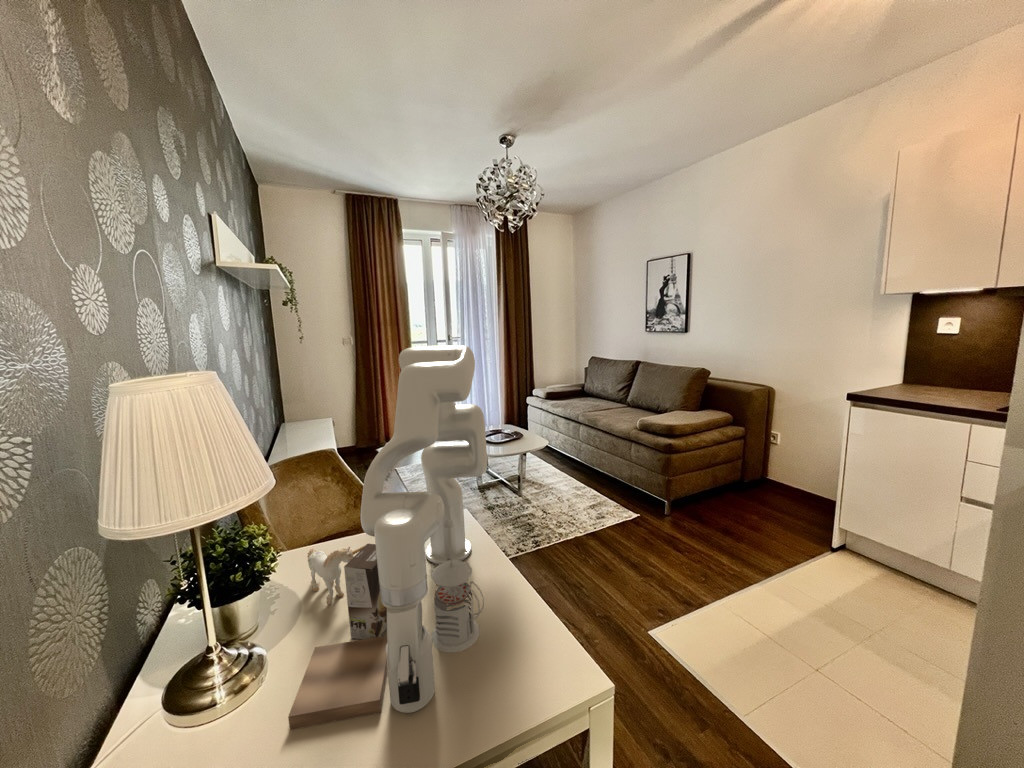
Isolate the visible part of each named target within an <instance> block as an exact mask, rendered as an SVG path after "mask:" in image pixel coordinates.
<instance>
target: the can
mask: <svg viewBox="0 0 1024 768" xmlns="http://www.w3.org/2000/svg"><path fill="white" fill-rule="evenodd" d="M409 648H410V646H409ZM433 659H434V658H433V645H432V634H430V631H428V630H427V628H426V625H424V624H422V640H421V651H420V661H419V662H418V664H417V665H416V673H417V677H419V689H420V700H419V701H418V702H413V703H407V704H402V705H401V704H400V703H399V693H398V665H397V667H396V668H395V669H390V668H389V664H388V643H387V645H386V660H387V678H388V679H387V680H388V691H389V700H390V704H391V706H392V707H393V709H395V710H396V711H398V712H400V713H409V714H410V713H414V712H417V711H419V710H421V709H422V708H424V707H425V706H426V705H427V704H428V703H429V702H430V701H431V699H432V698H433V697H434V693H435V689H436V687H435V673H434V660H433ZM411 660H413V659H412V657H411V656H410V655H409V661H411ZM409 674H410V675H413V671H412V665H411V666H409Z"/></svg>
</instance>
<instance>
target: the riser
mask: <svg viewBox="0 0 1024 768" xmlns="http://www.w3.org/2000/svg"><path fill="white" fill-rule="evenodd" d="M386 645H387V635H384V636H383V635H381V637H376V638H369V639H357V640H352V641H345V642H338V643H331V644H327V645H320V646H315V647H314V649H313V651H312V654H311V655H310V659H309V662H308V664H307V666H306V669H305V672H304V675H303V677H302V680H301V683H300V685H299V688H298V691H297V692H296V696H295V698H294V700H293V702H292V703H293V704H292V706H291V708H290V711H289V713H288V716H287V718H288V725H289V730H290V731H291V730H298V729H303V728H308V727H313V726H317V725H322V724H323V725H324V724H330V723H334V722H339V721H340V722H341V721H345V720H351V719H354V718H355V719H356V718H361V717H366V716H371V715H376V714H380V713H382V709H383V701H384V697H385V689H386V688H385V687H386V683H387V678H388V671H387V660H386Z"/></svg>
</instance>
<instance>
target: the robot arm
mask: <svg viewBox="0 0 1024 768" xmlns="http://www.w3.org/2000/svg"><path fill="white" fill-rule="evenodd" d="M398 363H399V368H400V372H399V376H398V383H397V394H396V395H397V396H396V406H395V418H394V427H393V428H394V429H393V435H392V437H391V438H390V440H389V441H387V443H386V444H385V445H384V446H383V447H382V448H381V449H380V450H379V451H378V453H377V454H376V455H375V457H374V459H373V460H372V461H371V463H370V465H369V467H368V469H367V471H366V474H365V477H364V480H363V487H362V496H361V504H360V505H361V506H360V523H361V524H360V526H361V529H362V530H363V532H364V533H365V534H366V535H368V536H370V537H374V541H375V543H374V544H376V554H377V565H378V575H379V585H380V596H381V602H382V604H383V605H384V606H385V607H387V628H386V636H387V643H388V664H389V668H390V669H395V668H396V667H397V665H398V693H399V703H400V704H401V705H402V704H407V703H413V702H418V701H419V700H420V689H419V677H417V673H416V665H417V664H418V662H419V661H420V651H421V640H422V625H423V604H422V601H423V600H424V599H425V598H426V596H427V595H428V591H429V590H428V589H429V588H428V574H427V562H426V559H427V560H428V561H429V562H431V563H433V564H435V565H440V564H442V563H444V562H447V561H451V560H450V544H449V528H445V527H444V523H445V521H446V520H452V521H453V523H454V526H453V527H452V528H450V543H451V559H452V561H456V560H458V561H462V562H463V560H465V559H466V558H468V556H469V555H471V552H472V543H471V542H470V541H469V540H468V539H466V531H465V529H466V528H465V513H464V510H465V509H464V495H463V489H462V487H461V485H460V483H459V482H458V481H457V478H458V479H459V478H475V477H476V478H477V477H481V476H483V475H484V474H485V473H486V471H487V467H488V451H487V450H488V449H487V436H486V422H485V417H484V412H483V410H482V408H481V407H480V406H479V405H478V404H473V403H463V404H457V403H458V402H459V403H460V402H464V401H466V400H467V399H468V397H469V395H470V393H471V389H472V385H473V378H474V375H475V370H476V369H475V368H476V359H475V356H474V352H473V351H472V349H471V348H470V347H469V346H467V345H426V346H424V345H423V346H422V345H421V346H412V347H407V348H405V349H403V350H401V351H400V353H399V356H398ZM455 402H457V403H455ZM419 451H421V455H420V457H421V458H420V462H421V467H422V471H423V475H424V478H425V485H426V491H401V492H400V491H398V492H396V491H395V492H384V484H385V481H386V478H387V476H388V474H389V472H391V470H392V469H393V468H394V467H395V466H396V465H397V464H398V463H400V462H401V461H403V460H404V459H406V458H407V457H409V456H411V455H413V454H415V453H417V452H419ZM429 539H430V543H429V544H428V545H427V547H425V543H427V541H428V540H429ZM409 646H410V648H409ZM409 655H410V656H411V657H412V659H413V660H411V661H409ZM411 665H412V671H413V675H410V674H409V666H411Z"/></svg>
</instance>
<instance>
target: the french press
mask: <svg viewBox="0 0 1024 768" xmlns="http://www.w3.org/2000/svg"><path fill="white" fill-rule="evenodd" d="M453 526H454V523H453V521H452V520H446V521H445V523H444V527H445V528H449V544H450V560H451V561H447V562H444V563H442V564H438V566H436V567H434V569H433V570H432V572H431V580H432V582H433V583H434V584H436V585H437V586H438V587H437V588H436V589H435V593H434V594H435V595H434V596H435V597H434V602H433V603H434V604H433V605H434V614H435V615H434V617H435V628H434V629H433V631H432V633H431V642H432V643H433V645H434V647H435V648H436V649H438V650H439V651H441V652H444V653H458V652H463V651H464V650H467V649H469V648H470V647H471V646H473V644H475V643H476V642H477V640H478V638H479V636H480V627H479V625H478V623H477V622H476V619H477V618H478V617H479V615H480V614H481V613H482V612H483V610H484V607H485V598H484V594H483V592H482V590H481V589H480V588H479V586H478V585H477V583H475V582H474V581H470V582H469V583H468V582H467V581H469V579H470V577H471V575H472V574H473V572H472V571H473V569H472V566H471V565H470V564H469V563H467V562H465V561H463V560H462V561H458V560H456V561H452V559H451V543H450V528H452V527H453ZM472 584H473V585H474V586H475V587H476V588H477V590H478V591H479V593H480V595H481V597H482V607H481V608H480V601H479V598H478V597H477V595H476V592H474V590H473V589H472ZM473 597H475V598H476V602H477V607H478V608H477V609H478V611H477V612H476V613H474V600H473ZM468 599H469V600H468ZM462 603H467V604H463V605H461V604H462ZM458 605H460V606H458ZM455 606H456V607H455ZM451 607H453V608H451ZM448 608H449V609H448ZM450 608H451V609H450ZM480 609H481V610H480ZM474 616H475V617H474Z"/></svg>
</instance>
